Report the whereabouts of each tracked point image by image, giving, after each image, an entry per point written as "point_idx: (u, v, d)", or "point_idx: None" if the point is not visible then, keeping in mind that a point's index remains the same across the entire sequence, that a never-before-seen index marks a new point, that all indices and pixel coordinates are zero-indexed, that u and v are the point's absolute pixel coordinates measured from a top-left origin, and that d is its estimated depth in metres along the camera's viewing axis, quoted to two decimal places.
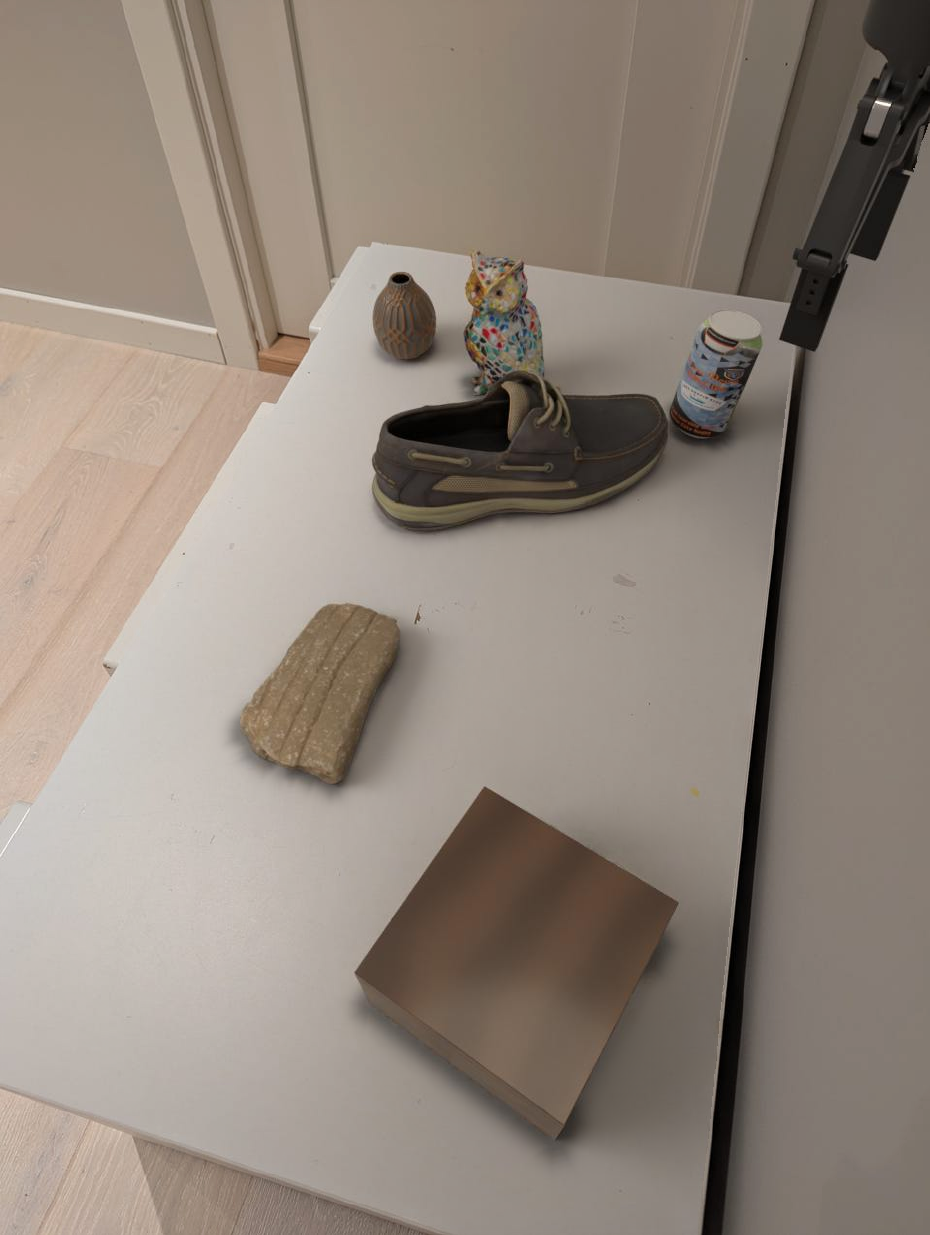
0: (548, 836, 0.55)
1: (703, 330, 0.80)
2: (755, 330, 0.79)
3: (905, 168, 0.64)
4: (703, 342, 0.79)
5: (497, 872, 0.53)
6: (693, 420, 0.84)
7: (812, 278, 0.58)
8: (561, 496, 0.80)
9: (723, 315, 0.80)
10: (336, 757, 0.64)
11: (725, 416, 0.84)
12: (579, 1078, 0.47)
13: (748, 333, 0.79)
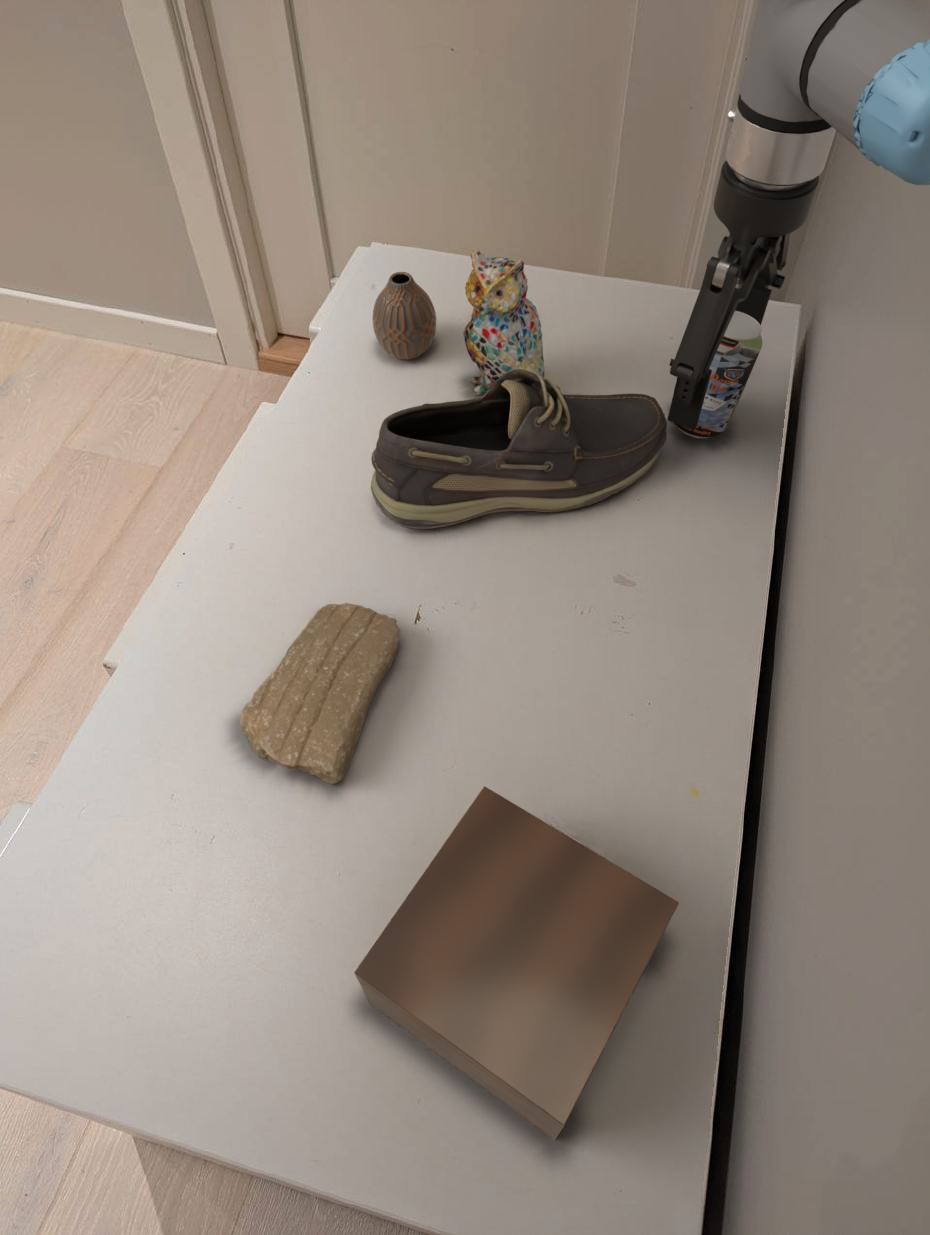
0: (548, 836, 0.55)
1: None
2: (755, 330, 0.79)
3: (767, 284, 0.82)
4: None
5: (497, 872, 0.53)
6: None
7: (684, 380, 0.76)
8: (560, 495, 0.80)
9: None
10: (336, 757, 0.64)
11: (725, 416, 0.84)
12: (579, 1078, 0.47)
13: (748, 333, 0.79)
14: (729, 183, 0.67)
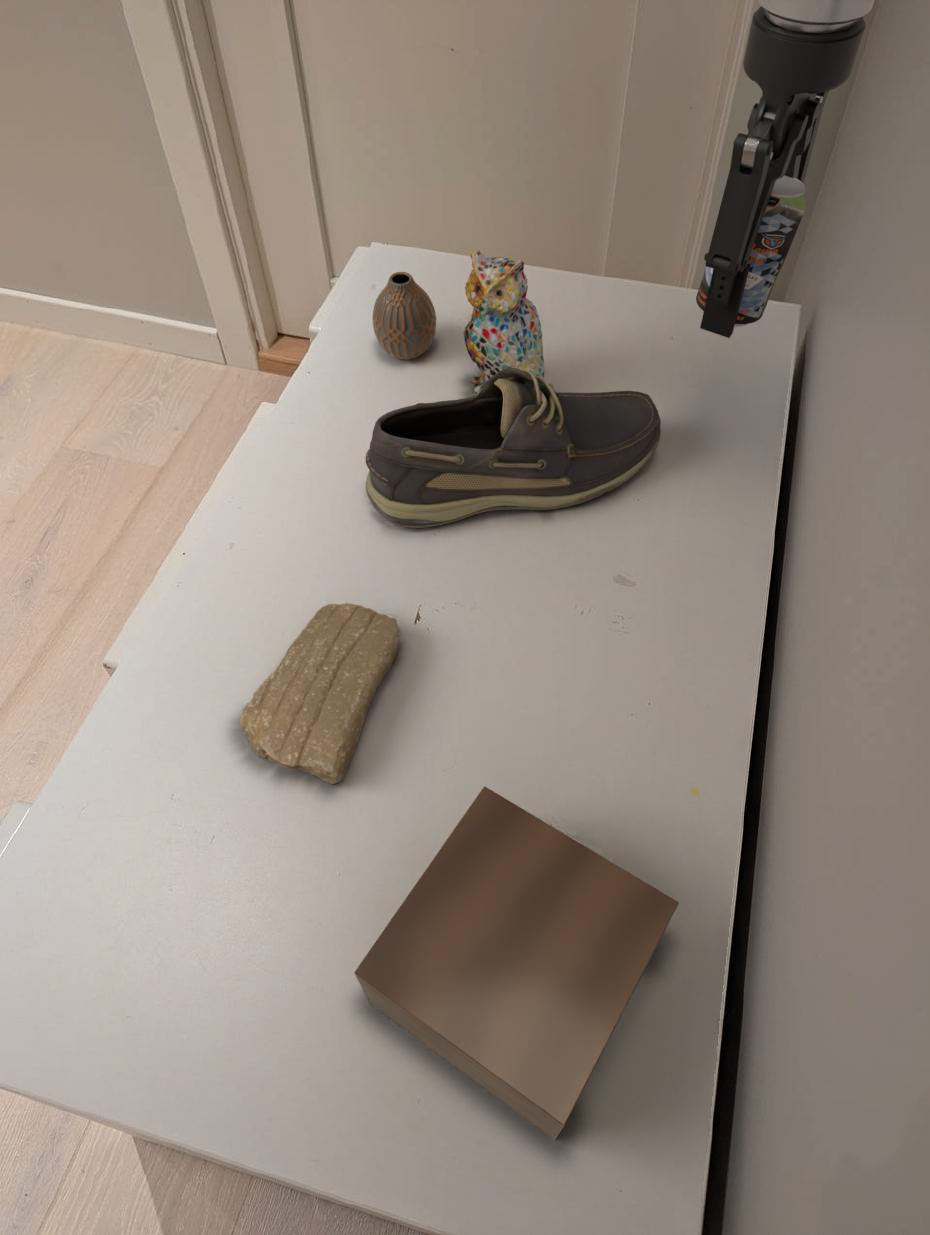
0: (548, 836, 0.55)
1: None
2: (798, 188, 0.68)
3: None
4: None
5: (497, 872, 0.53)
6: None
7: (720, 276, 0.70)
8: (554, 493, 0.80)
9: None
10: (336, 757, 0.64)
11: (761, 297, 0.73)
12: (579, 1078, 0.47)
13: (790, 191, 0.68)
14: (762, 29, 0.59)
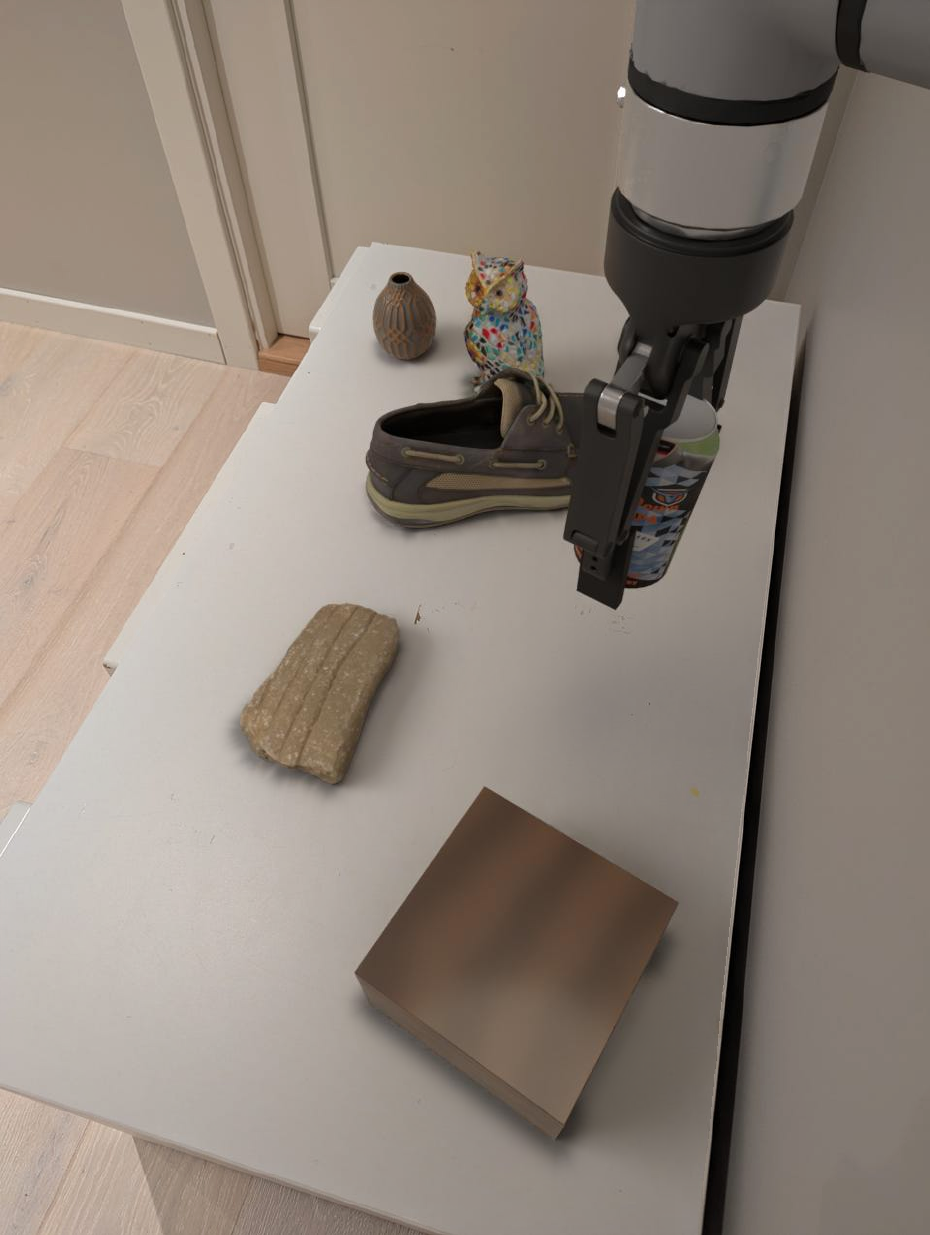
0: (548, 836, 0.55)
1: None
2: (707, 422, 0.45)
3: None
4: None
5: (497, 872, 0.53)
6: None
7: None
8: (554, 493, 0.80)
9: None
10: (336, 757, 0.64)
11: (660, 558, 0.50)
12: (579, 1078, 0.47)
13: (693, 429, 0.45)
14: (621, 223, 0.35)
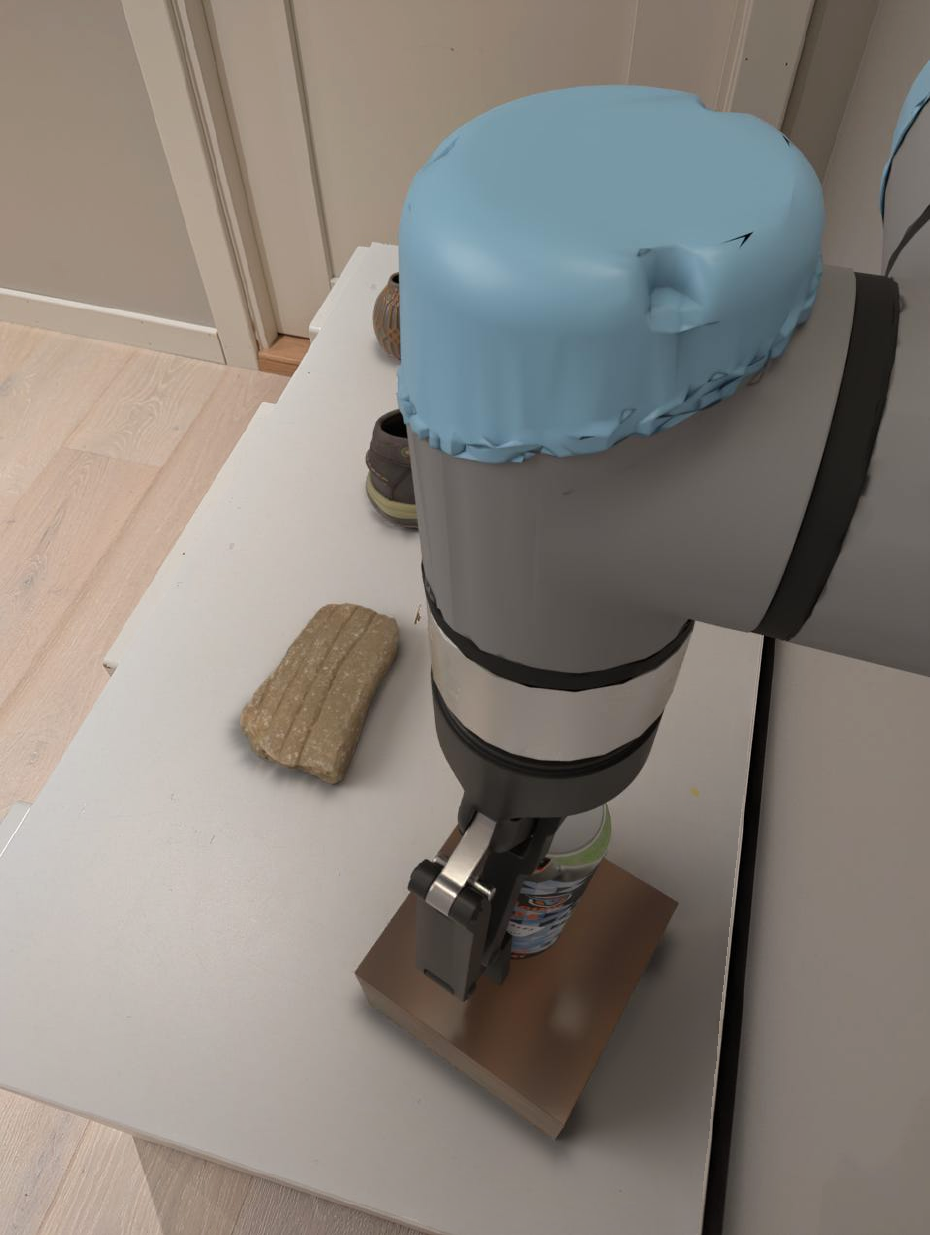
0: None
1: None
2: (593, 817, 0.37)
3: None
4: None
5: None
6: None
7: None
8: None
9: None
10: (336, 757, 0.64)
11: (549, 936, 0.41)
12: (579, 1078, 0.47)
13: (574, 833, 0.36)
14: (441, 704, 0.27)
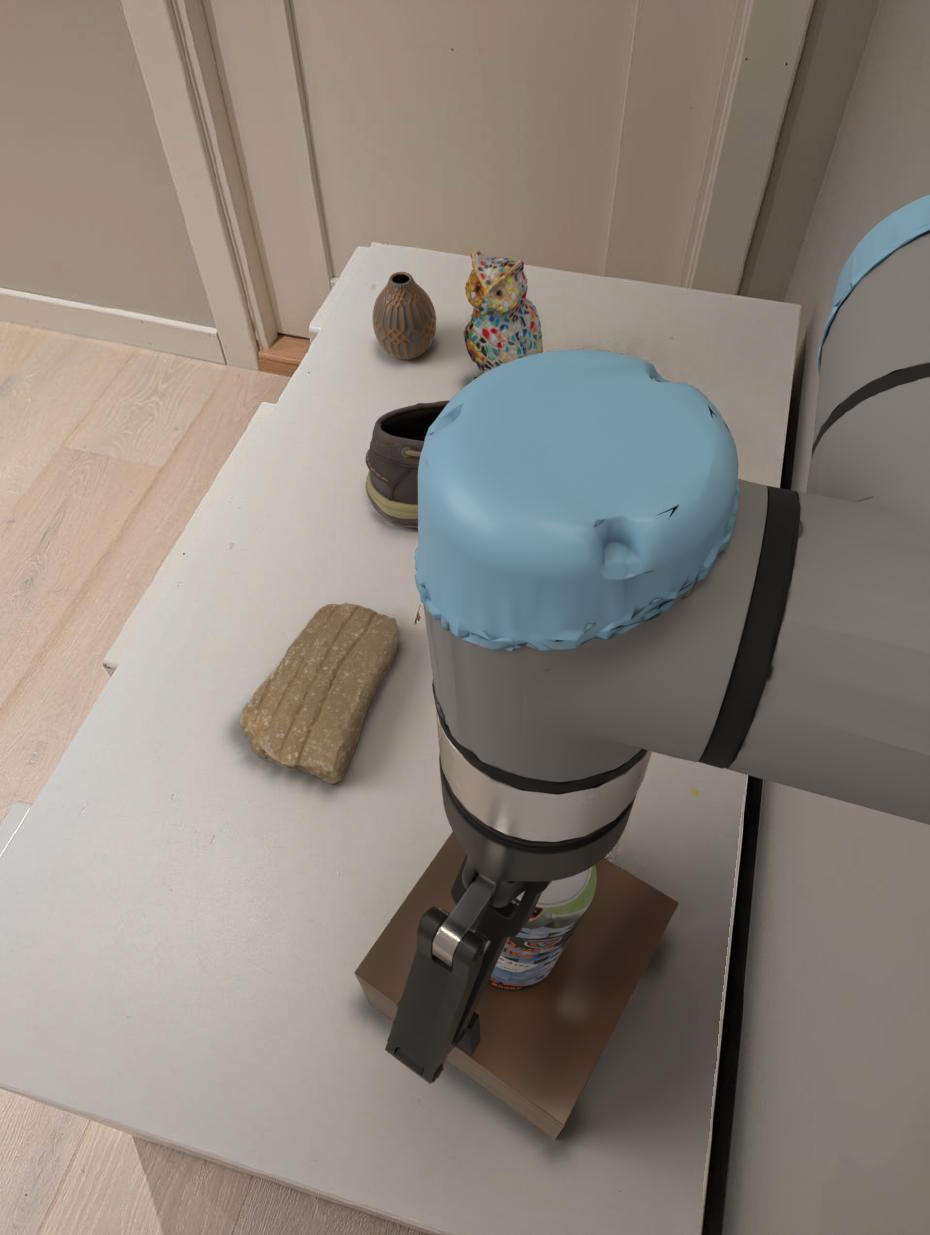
0: None
1: None
2: None
3: None
4: None
5: None
6: None
7: None
8: None
9: None
10: (336, 757, 0.64)
11: (543, 971, 0.47)
12: (579, 1078, 0.47)
13: (563, 885, 0.41)
14: (448, 787, 0.31)
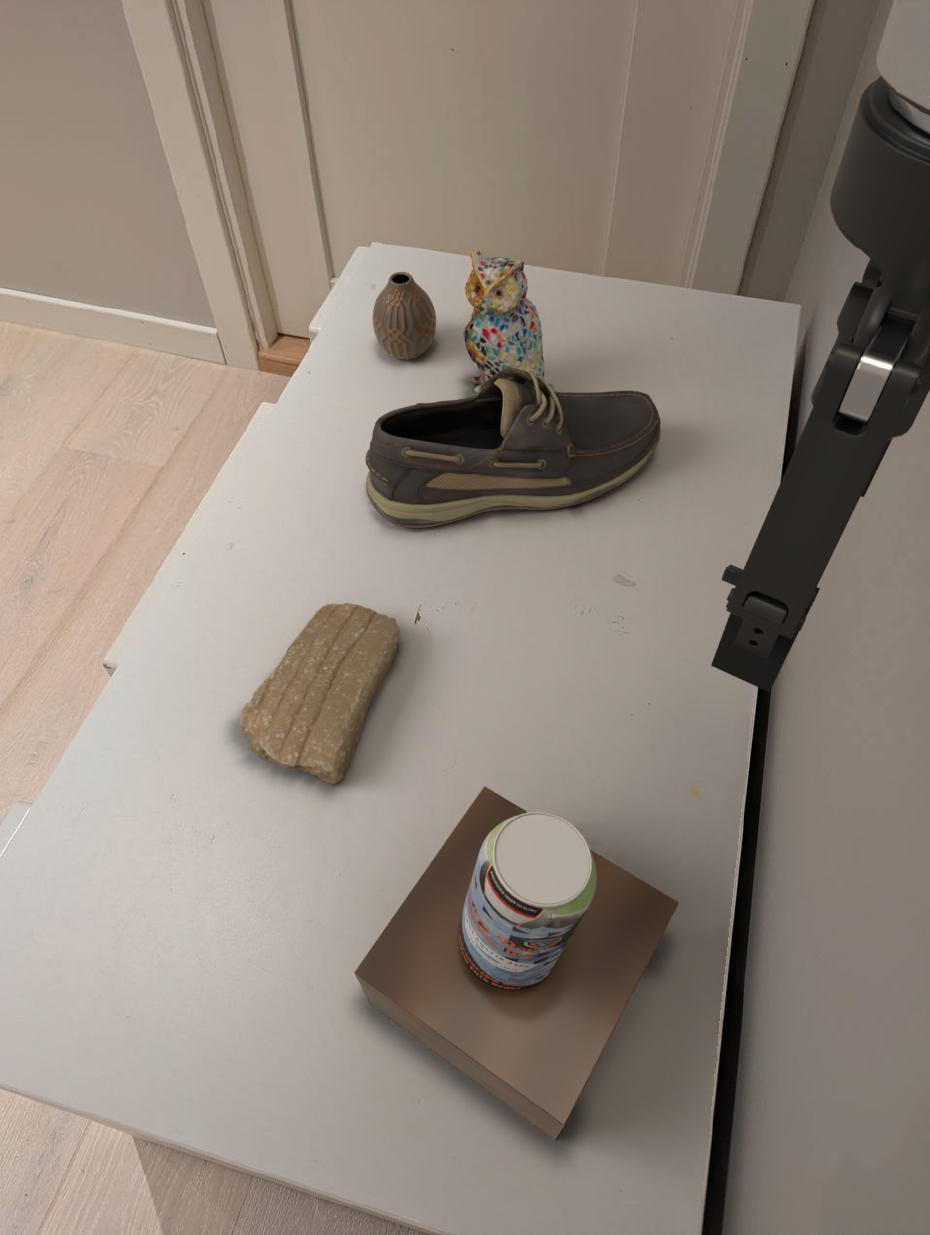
0: None
1: (484, 865, 0.42)
2: (580, 871, 0.42)
3: None
4: (483, 891, 0.42)
5: None
6: (488, 973, 0.47)
7: None
8: (554, 493, 0.80)
9: (523, 829, 0.43)
10: (336, 757, 0.64)
11: (543, 971, 0.47)
12: (579, 1078, 0.47)
13: (563, 885, 0.41)
14: (890, 141, 0.24)
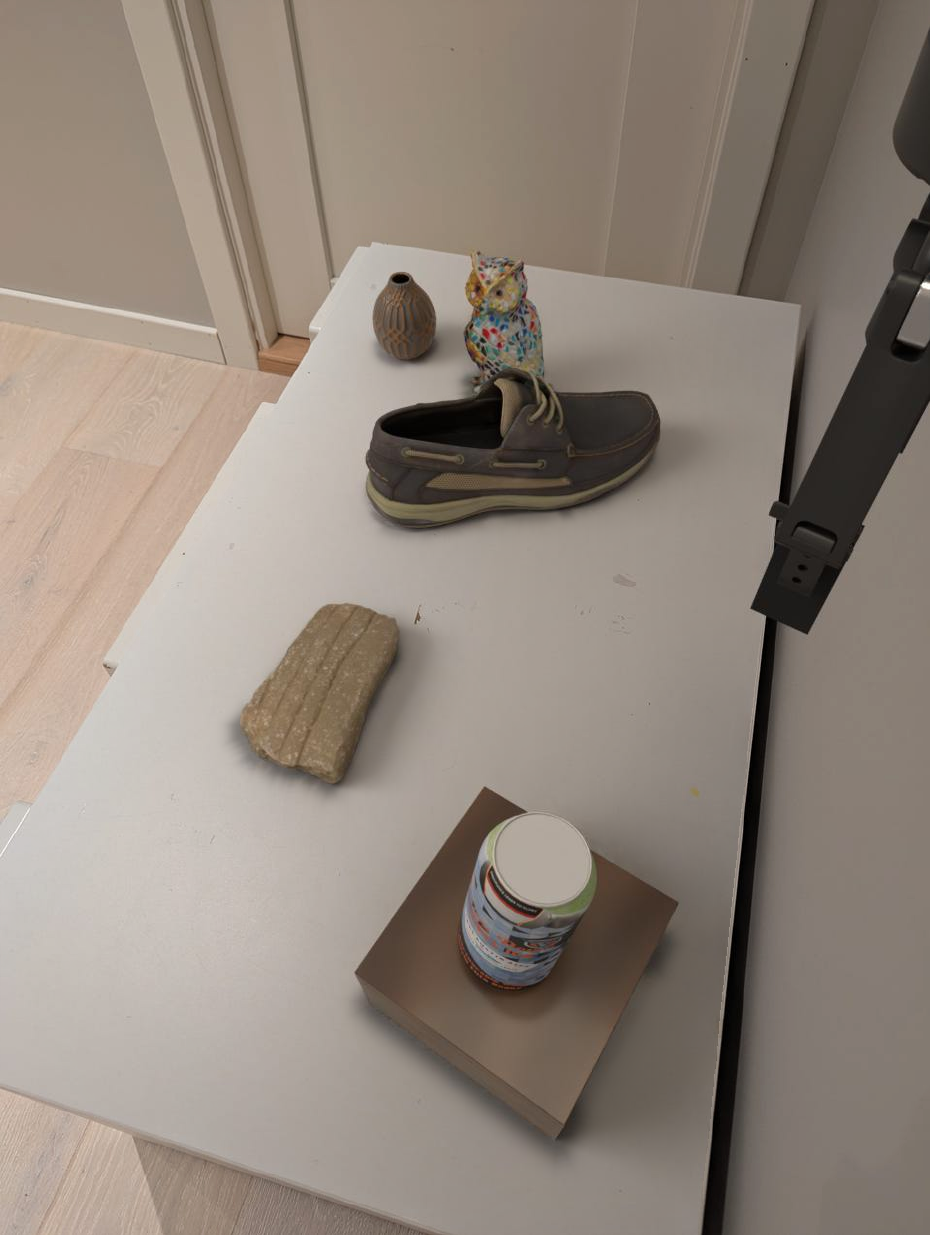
0: None
1: (484, 865, 0.42)
2: (580, 871, 0.42)
3: None
4: (483, 891, 0.42)
5: None
6: (488, 973, 0.47)
7: None
8: (554, 493, 0.80)
9: (523, 829, 0.43)
10: (336, 757, 0.64)
11: (543, 971, 0.47)
12: (579, 1078, 0.47)
13: (563, 885, 0.41)
14: None
